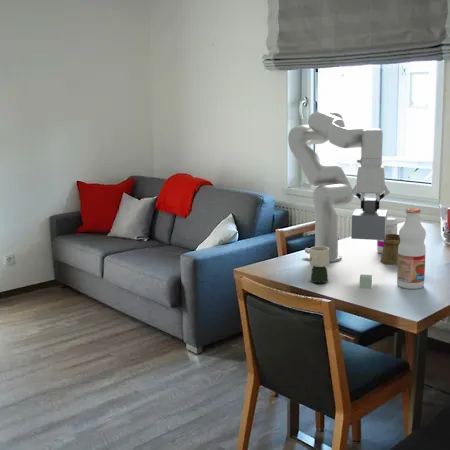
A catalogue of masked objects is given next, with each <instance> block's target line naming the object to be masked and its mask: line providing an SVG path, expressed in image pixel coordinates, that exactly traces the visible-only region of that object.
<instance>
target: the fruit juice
mask: <svg viewBox="0 0 450 450" xmlns="http://www.w3.org/2000/svg"><path fill="white" fill-rule="evenodd" d="M405 214H406V219H405V221H404V223H403V225H402V226H401V228H400V229H399V230H398V231H399V232H398V233H399V234H398V235H399V238H400V243H399V246H398V264H397V268H396V269H397V271H396V273H397V274H396V275H397V277H396V280H397V281H396V284H397V286H398V287H400V288H402V289H409V290H418V289H422V288H423V287H424V286H425V276H426V275H425V274H426V253H427V251H426V244H425V240H426V237H427V232H426V229H425V227H424V226H423V225H422V223H421V219H420V215H421V208H418V207H417V208H414V207H411V208H410V207H407V208H406V210H405Z"/></svg>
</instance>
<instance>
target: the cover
mask: <svg viewBox="0 0 450 450" xmlns="http://www.w3.org/2000/svg"><path fill="white" fill-rule="evenodd" d="M364 198H365V197H364ZM375 201H376V198H370V197H367V198H365V200H364V211H362V209H361V208H355V209H354V211H353V212H352V215H351V235H350V236H351V239H352V240H353V239H354V240H369V241H370V240H373V241H377V240H385V236H386V230H387V217H388V209H377V212H375Z"/></svg>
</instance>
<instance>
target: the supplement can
mask: <svg viewBox="0 0 450 450" xmlns="http://www.w3.org/2000/svg"><path fill="white" fill-rule="evenodd" d="M386 234H398V221H397V218H396V217H393V216H387V230H386ZM376 241H377V242H376V243H377V244H376V250H377V252H378V253H379V254H382V253H383V247H384V240H376Z"/></svg>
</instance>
